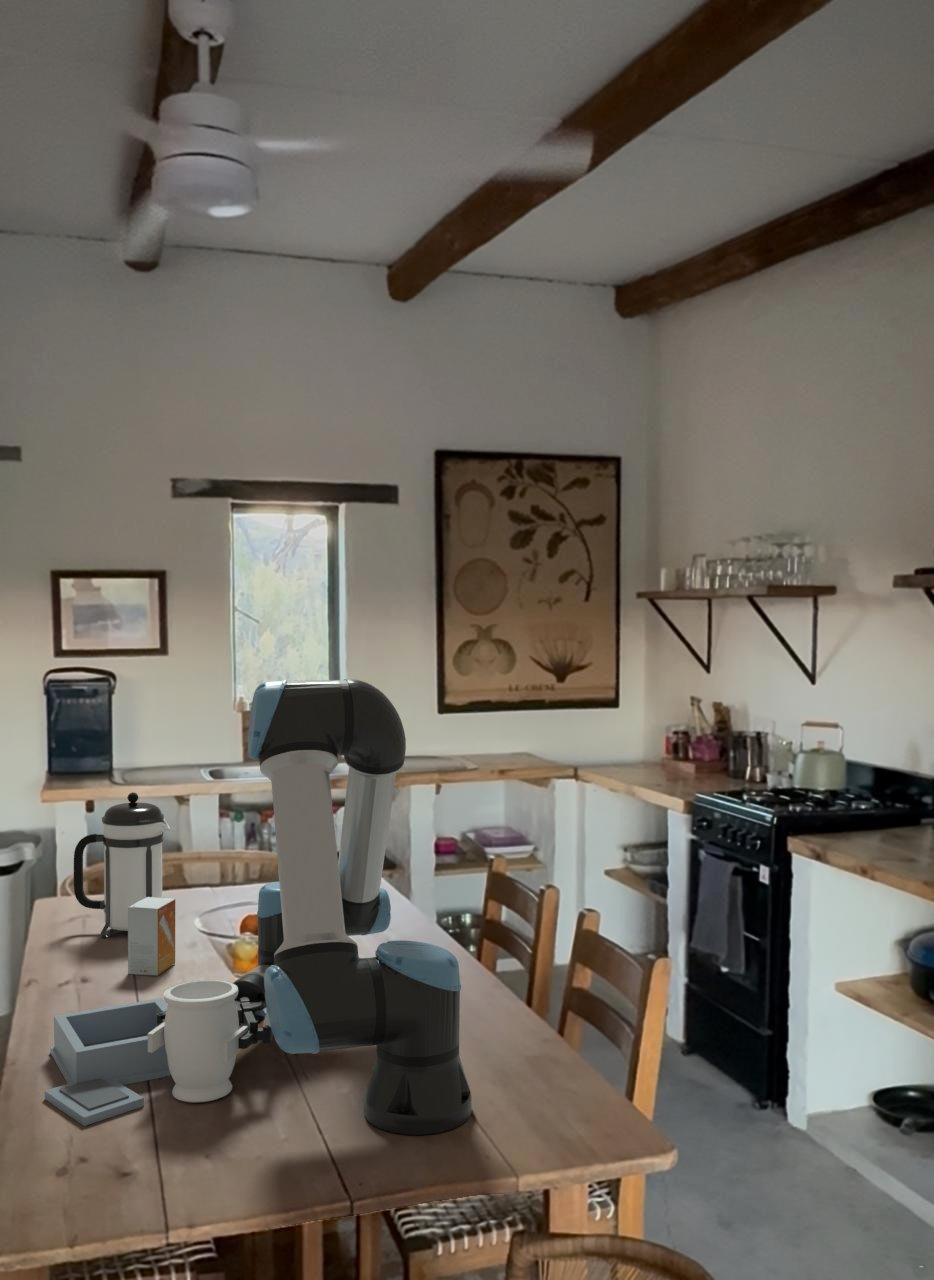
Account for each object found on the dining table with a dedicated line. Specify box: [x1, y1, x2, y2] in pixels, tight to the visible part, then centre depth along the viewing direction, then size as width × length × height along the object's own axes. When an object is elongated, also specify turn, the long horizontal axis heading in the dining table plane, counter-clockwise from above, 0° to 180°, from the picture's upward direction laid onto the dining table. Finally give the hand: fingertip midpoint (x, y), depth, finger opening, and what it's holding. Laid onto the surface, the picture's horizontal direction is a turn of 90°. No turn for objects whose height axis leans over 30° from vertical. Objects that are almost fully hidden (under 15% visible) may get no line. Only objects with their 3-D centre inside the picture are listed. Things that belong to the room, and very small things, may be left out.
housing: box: [49, 997, 171, 1086], centre depth 182 cm, size 18×18×6 cm
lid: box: [44, 1078, 145, 1127], centre depth 167 cm, size 12×9×2 cm
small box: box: [127, 897, 176, 977], centre depth 227 cm, size 8×6×13 cm
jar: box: [163, 979, 240, 1103], centre depth 170 cm, size 11×10×15 cm
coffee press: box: [73, 792, 171, 938], centre depth 252 cm, size 17×16×30 cm
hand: (187, 1047), depth 166 cm, fingers open, 11 cm apart
